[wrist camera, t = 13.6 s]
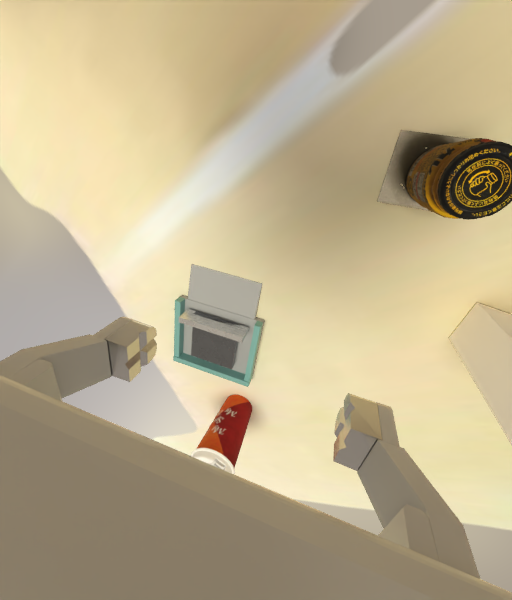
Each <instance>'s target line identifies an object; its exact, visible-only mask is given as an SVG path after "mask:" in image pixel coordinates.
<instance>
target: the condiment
mask: <svg viewBox="0 0 512 600" xmlns="http://www.w3.org/2000/svg"><path fill="white" fill-rule="evenodd" d="M425 147H427V149H425ZM400 183H402V184H403V186H404V187H405V189H403V186H401V185H400ZM511 201H512V146H511V145H509V144H506V143H503V142H496V141H493V140H489V139H482V138H475V139H467V138H459V137H451V136H444V135H436V134H428V133H420V132H412V131H405V130H401V132H400V135H399V138H398V140H397V143H396V146H395V149H394V152H393V155H392V158H391V161H390V164H389V167H388V170H387V173H386V176H385V179H384V182H383V185H382V188H381V191H380V194H379V197H378V200H377V202H382V203H388V204H393V205H400V206H405V207H411V208H417V209H422V210H428V211H431V212H435V213H436V214H439V215H441V216H443V217H448V218H463V219H477V218H482V217H485V216H490V215H493V214H495V213H497V212H498V211H500V210H502V209H503V208H504V207H505V206H507V205H508V204H509V203H510V202H511Z"/></svg>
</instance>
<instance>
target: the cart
mask: <svg viewBox="0 0 512 600" xmlns="http://www.w3.org/2000/svg"><path fill="white" fill-rule="evenodd" d="M179 323H183V324H186V325H189V326H192V327H193V329H192V347H191V355H192V356H194V357H197V358H200V359H203V360H206V361H209V362H212V363H215V364H218V365H220V366H223V367H226V368H229V369H232V368H233V366H234V362H235V355H236V349H237V343H238V342H241V343H242V342H243V340H244V339H245V337H246V335H247V333H248V330H249V327H245V326H242V325H239V324H236V323H233V322H229V321H226V320H223V319H220V318H217V317H213V316H210V315H207V314H204V313H201V312H197V311H194V310H191V309H187V310H186V311H185V312H184V313H183V314H182V315H181V316H180V317H179Z"/></svg>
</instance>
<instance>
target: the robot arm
mask: <svg viewBox="0 0 512 600" xmlns="http://www.w3.org/2000/svg"><path fill="white" fill-rule="evenodd" d="M156 335H157V334H156V329H155V328H154V327H152V326H149V325H147V324H144V323H141V322H139V321H136V320H132V319H130V318H127V317H120V318H118V319H117V320H115V321H114V322H112V323H111V324H109V325H108V326H106V327H105V328H104V329H102V330H100V331H99V332H97V333H96V334H94V335H85V336H80V337H76V338H71V339H67V340H62V341H58V342H53V343H49V344H44V345H40V346H36V347H31V348H27V349H22V350H20V351H18V352H16V353H15V354H13V355H11V356H9V357H7V358H6V359H4V360H2V361H0V600H512V592H509V591H506V590H504V589H502V588H500V587H497V586H495V585H493V584H490V583H488V582H485V581H483V580H481V579H480V576H479V573H478V570H477V567H476V564H475V561H474V557H473V555H472V551H471V549H470V545H469V542H468V539H467V536H466V533H465V530H464V527H463V525H462V523H461V522H460V521H459V519H458V518H457V517H456V516H455V514H454V513H453V512H452V510H451V509H450V508H449V506H448V505H447V504H446V503H445V501H444V500H443V499H442V497H441V496H440V495H439V493H438V492H437V491H436V490H435V488H434V487H433V486H432V484H431V483H430V482H429V480H428V479H427V478H426V477H425V475H424V474H423V473H422V471H421V470H420V469H419V467H418V466H417V465H416V464H415V462H414V461H413V460H412V458H411V457H410V456H409V454H408V453H407V452H406V451H405V449H404V448H401V447H400V446H399V441H398V436H397V431H396V426H395V421H394V416H393V411H392V408H391V407H389V406H386V405H383V404H380V403H377V402H376V403H375V402H373V401H370V400H367V399H364V398H361V397H358V396H355V395H352V394H349V393H348V395H347V396H346V398H345V400H344V407H342V408H340V410H339V413H338V415H337V419H336V423H335V435H336V437H337V439H336V441H335V443H334V462H337V463H339V464H342V465H344V466H346V467H349V468H351V469H354V470H356V471H358V472H357V473H358V475H359V477H360V479H361V481H362V484H363V486H364V488H365V490H366V492H367V494H368V496H369V498H370V501H371V503H372V505H373V507H374V509H375V511H376V513H377V515H378V518H379V520H380V522H381V524H382V526H383V528H384V530H383V531H382V532H381V533H380V534H379V535H375V534H373V533H370V532H368V531H366V530H363V529H361V528H359V527H356V526H354V525H352V524H349V523H347V522H345V521H342V520H340V519H337V518H335V517H333V516H331V515H328V514H326V513H324V512H321V511H319V510H316V509H314V508H312V507H309V506H307V505H305V504H302V503H300V502H298V501H295V500H293V499H291V498H288V497H286V496H283V495H281V494H279V493H276V492H274V491H272V490H269V489H267V488H265V487H262V486H260V485H258V484H255V483H253V482H250V481H248V480H246V479H243V478H241V477H239V476H236V475H234V474H232V473H229V472H227V471H224V470H222V469H220V468H217V467H215V466H213V465H210V464H208V463H206V462H203V461H201V460H198V459H196V458H194V457H191V456H189V455H187V454H184V453H182V452H180V451H177V450H175V449H173V448H170V447H168V446H166V445H163V444H161V443H159V442H156V441H154V440H152V439H149V438H147V437H145V436H142V435H140V434H137V433H135V432H133V431H130V430H128V429H126V428H123V427H121V426H119V425H116V424H114V423H112V422H109V421H107V420H104V419H102V418H100V417H97V416H95V415H93V414H90V413H88V412H85V411H83V410H81V409H79V408H76V407H74V406H72V405H69V404H67V403H65V402H62V398H64V397H66V396H68V395H71V394H73V393H75V392H77V391H80V390H82V389H84V388H86V387H89V386H91V385H94V384H96V383H98V382H100V381H103V380H105V379H107V378H110V377H111V376H114V377H117V378H120V379H123V380H126V381H129V382H130V381H131V380H132V379H133V378H134V377H135V376H136V375H137V374H138V373H139V372H140V371H141V366H144V365H147V364H148V363H149V362H150V361H151V360H152V359H153V357H154V355H155V353H156V349H157V343H156V342H155V340H154V337H155V336H156Z"/></svg>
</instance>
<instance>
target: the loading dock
mask: <svg viewBox="0 0 512 600" xmlns="http://www.w3.org/2000/svg"><path fill="white" fill-rule="evenodd" d="M261 287H262V283H258V282H255V281H251V280H248V279H244V278H240V277H237V276H233V275H230V274H226V273H222V272H219V271H215V270H212V269H208V268H204V267H201V266H197V265H194V264H192V266H191V275H190V283H189V292H188V297H187V296H184V295H182V296H180V297H179V298H178V299H177V300H175V335H174V361H177V362H179V363H182V364H185V365H188V366H191V367H194V368H196V369H199V370H202V371H205V372H208V373H210V374H213V375H216V376H219V377H222V378H225V379H227V380H230V381H233V382H236V383H239V384H241V385H244V386H247V387H248V386H249V384H250V381H251V379H252V376H253V372H254V367H255V362H256V357H257V353H258V348H259V343H260V338H261V334H262V329H263V324H264V320H263V319H260V318H256V314H257V308H258V303H259V298H260V293H261ZM187 309H191V310H194V311H197V312H201V313H204V314H207V315H210V316H213V317H217V318H220V319H223V320H226V321H229V322H233V323H236V324H239V325H242V326H245V327H249V330H248V333H247V335H246V337H245V339H244V340H243V342H242V343H241V342H238V343H237V349H236V355H235V362H234V366H233V368H232V369H229V368H226V367H223V366H220V365H218V364H215V363H212V362H209V361H206V360H203V359H200V358H197V357H194V356H192V355H191V347H192V329H193V327H192V326H189V325H186V324H183V323H179V317H180V316H181V315H182V314H183V313H184V312H185V311H186V310H187Z"/></svg>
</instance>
